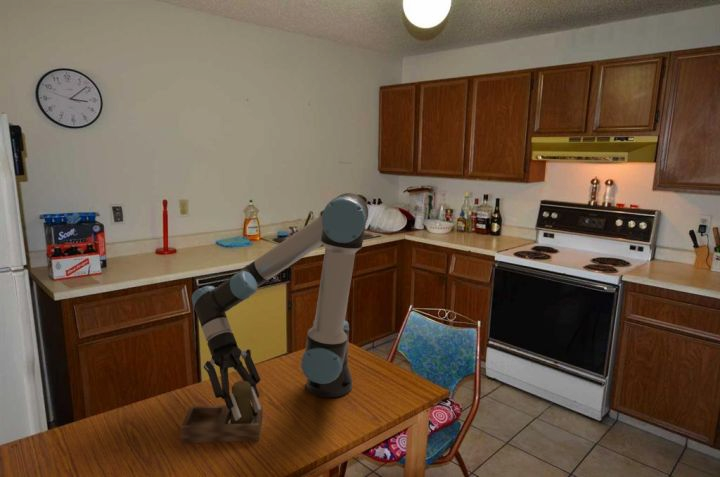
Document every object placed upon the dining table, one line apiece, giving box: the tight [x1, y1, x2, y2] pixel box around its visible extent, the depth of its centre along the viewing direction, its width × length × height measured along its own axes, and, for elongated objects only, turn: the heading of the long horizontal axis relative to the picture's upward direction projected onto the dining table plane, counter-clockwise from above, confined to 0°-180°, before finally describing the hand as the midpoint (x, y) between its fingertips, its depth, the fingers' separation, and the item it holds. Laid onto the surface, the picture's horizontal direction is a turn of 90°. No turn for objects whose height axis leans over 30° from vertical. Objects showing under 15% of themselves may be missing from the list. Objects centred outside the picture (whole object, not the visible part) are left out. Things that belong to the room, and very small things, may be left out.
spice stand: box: [179, 403, 264, 444], centre depth 124 cm, size 20×10×4 cm, turn 96°
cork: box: [231, 380, 253, 424], centre depth 123 cm, size 6×6×11 cm
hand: (248, 414), depth 121 cm, fingers closed on cork, 5 cm apart
